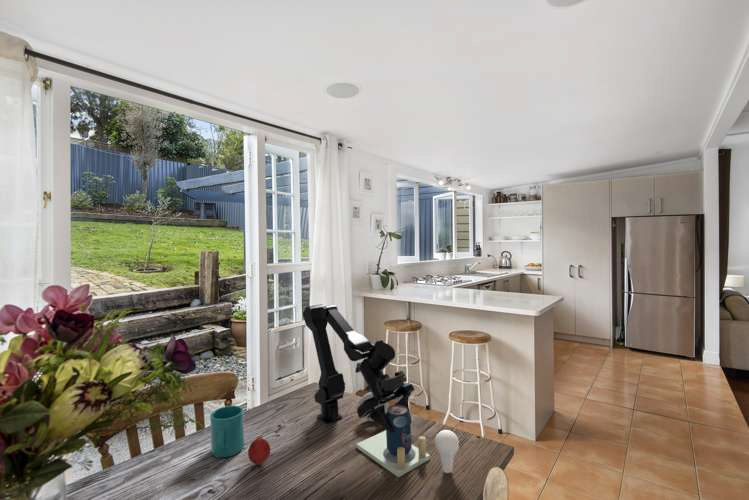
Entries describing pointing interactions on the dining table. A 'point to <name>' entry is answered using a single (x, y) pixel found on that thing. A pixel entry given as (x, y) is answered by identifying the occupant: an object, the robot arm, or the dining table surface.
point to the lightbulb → (447, 448)
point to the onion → (259, 451)
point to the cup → (227, 431)
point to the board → (396, 465)
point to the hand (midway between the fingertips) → (402, 428)
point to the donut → (367, 396)
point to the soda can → (399, 429)
